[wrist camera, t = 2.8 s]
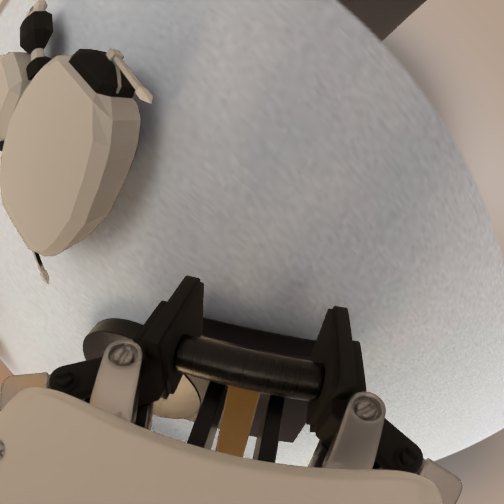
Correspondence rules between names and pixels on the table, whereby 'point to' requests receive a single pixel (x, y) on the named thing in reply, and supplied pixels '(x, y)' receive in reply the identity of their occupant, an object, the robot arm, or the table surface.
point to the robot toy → (63, 137)
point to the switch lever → (246, 382)
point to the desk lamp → (113, 330)
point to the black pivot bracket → (269, 406)
